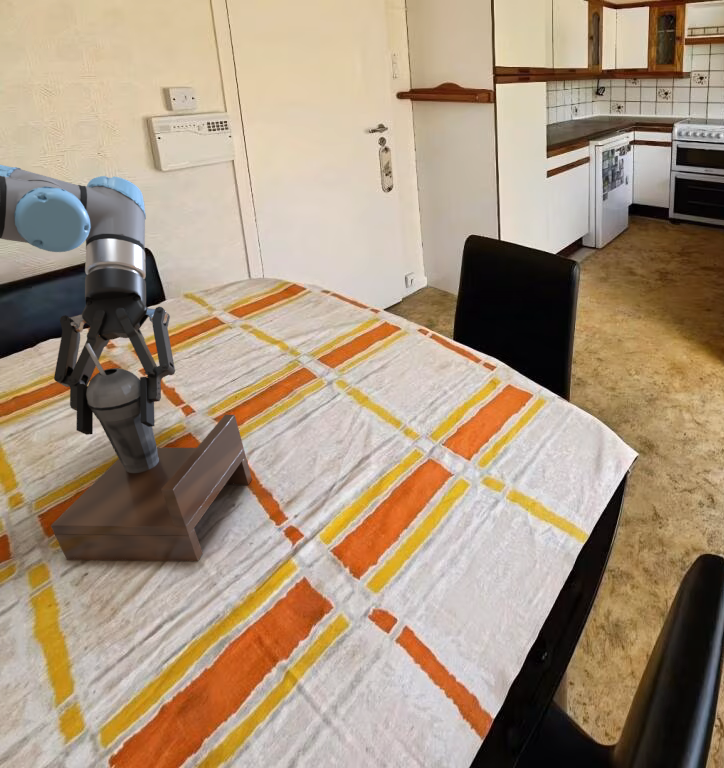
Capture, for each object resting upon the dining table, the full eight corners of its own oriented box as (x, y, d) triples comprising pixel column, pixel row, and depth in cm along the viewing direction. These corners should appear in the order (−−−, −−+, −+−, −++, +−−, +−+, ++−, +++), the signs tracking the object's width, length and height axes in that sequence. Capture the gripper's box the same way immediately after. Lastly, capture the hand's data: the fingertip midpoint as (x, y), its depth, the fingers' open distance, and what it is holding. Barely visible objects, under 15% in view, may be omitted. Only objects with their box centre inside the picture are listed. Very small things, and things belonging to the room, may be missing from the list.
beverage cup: (173, 467, 92) (131, 344, 82) (116, 485, 88) (65, 358, 78) (165, 444, 97) (125, 326, 87) (112, 460, 93) (64, 339, 84)
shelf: (66, 560, 84) (32, 488, 78) (141, 478, 99) (117, 414, 94) (197, 561, 83) (172, 489, 77) (252, 479, 99) (234, 414, 93)
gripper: (197, 282, 97) (203, 424, 91) (54, 295, 93) (50, 444, 87) (180, 259, 90) (185, 411, 84) (24, 272, 86) (17, 432, 80)
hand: (116, 428), depth 85 cm, fingers closed on beverage cup, 7 cm apart
